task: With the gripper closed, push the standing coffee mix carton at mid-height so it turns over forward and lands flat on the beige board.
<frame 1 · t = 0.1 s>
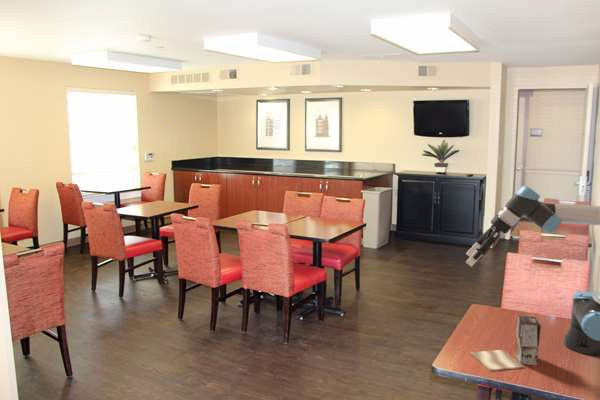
hand: (468, 260, 203), 36 cm above the table, tool tilted 35°, fingers open, 13 cm apart
coffee box: (525, 360, 196), on the table
beige board: (496, 360, 194), on the table
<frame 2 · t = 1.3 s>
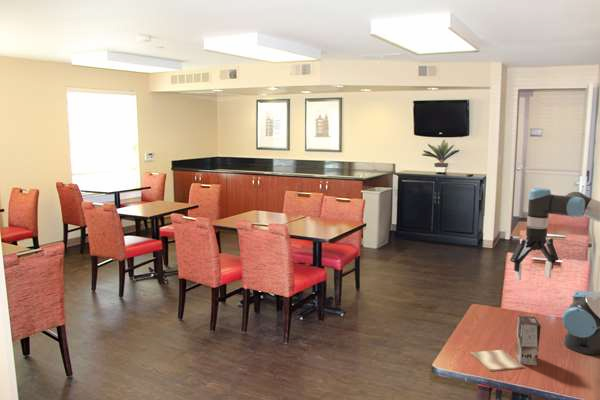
hand: (532, 278, 204), 29 cm above the table, tool pointing down, fingers open, 13 cm apart
nothing on the table moved.
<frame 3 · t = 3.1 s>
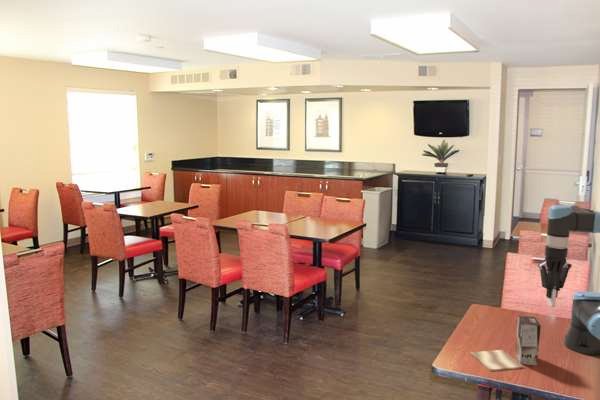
hand: (550, 305, 194), 21 cm above the table, tool pointing down, fingers closed
nothing on the table moved.
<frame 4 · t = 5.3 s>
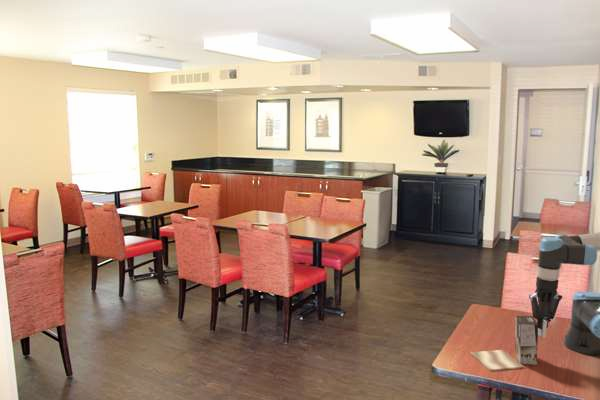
hand: (541, 336, 195), 9 cm above the table, tool pointing down, fingers closed
coffee box: (525, 359, 196), on the table, touching gripper, hand
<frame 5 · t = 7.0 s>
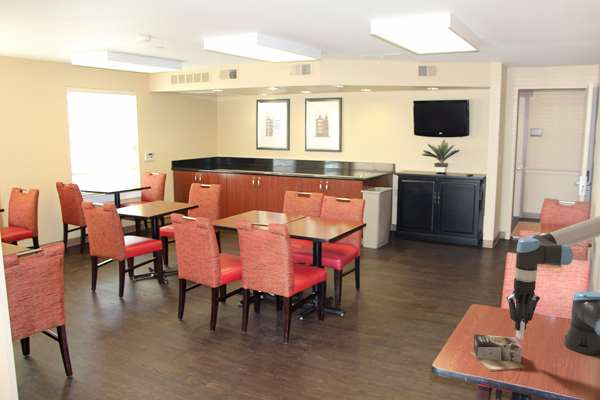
hand: (519, 337, 194), 9 cm above the table, tool pointing down, fingers closed
coffee box: (519, 349, 195), point 4 cm above the table, touching beige board
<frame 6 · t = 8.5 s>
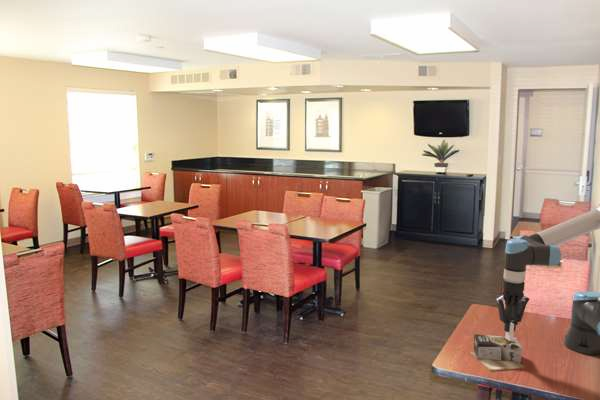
hand: (509, 339, 193), 9 cm above the table, tool pointing down, fingers closed
nothing on the table moved.
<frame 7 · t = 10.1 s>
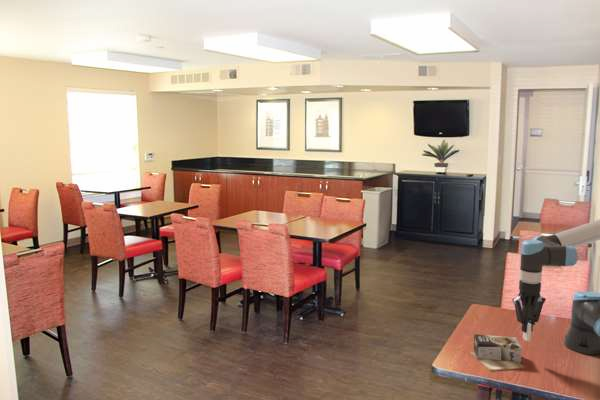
hand: (526, 339, 194), 8 cm above the table, tool pointing down, fingers closed
nothing on the table moved.
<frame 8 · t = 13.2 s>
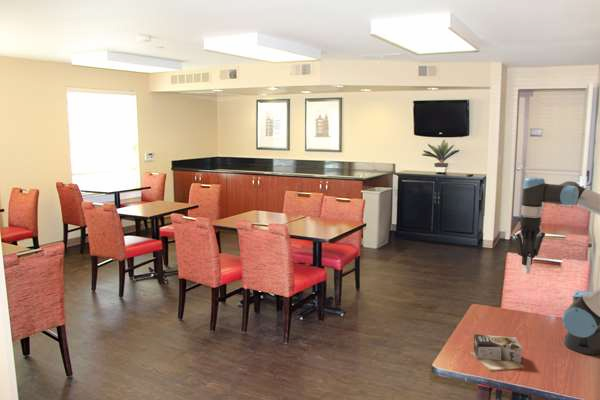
hand: (526, 272, 206), 30 cm above the table, tool pointing down, fingers closed
nothing on the table moved.
at the end: coffee box tilted 90°; coffee box inside the target area (7.4 cm from its centre), point 3.8 cm above the table; the gripper is holding nothing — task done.
